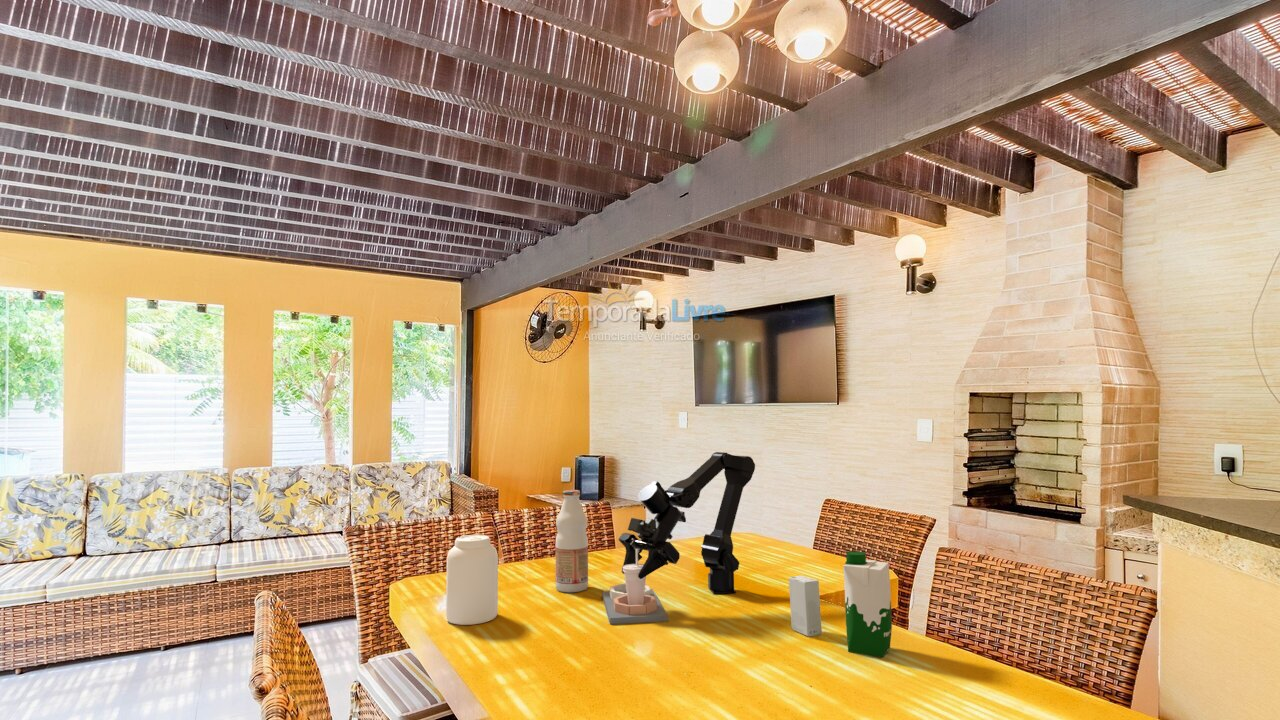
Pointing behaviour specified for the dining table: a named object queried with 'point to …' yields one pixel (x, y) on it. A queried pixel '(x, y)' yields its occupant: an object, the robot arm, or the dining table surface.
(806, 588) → the skincare box
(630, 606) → the board
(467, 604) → the white plastic jar
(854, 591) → the milk carton
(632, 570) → the smoothie
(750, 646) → the dining table surface
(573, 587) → the fruit juice
